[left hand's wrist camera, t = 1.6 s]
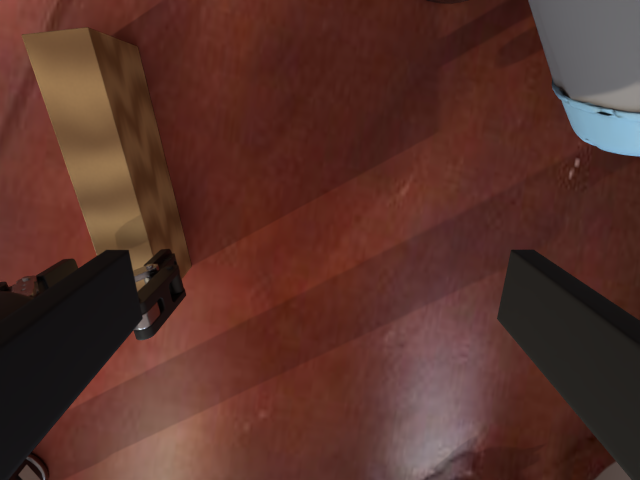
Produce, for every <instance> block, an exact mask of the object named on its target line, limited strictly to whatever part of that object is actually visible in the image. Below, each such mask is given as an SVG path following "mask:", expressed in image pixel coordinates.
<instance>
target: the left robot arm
mask: <svg viewBox="0 0 640 480" xmlns="http://www.w3.org/2000/svg"><path fill="white" fill-rule="evenodd" d="M427 1H431V2H436V3H459V2H464V1H468V0H427ZM528 1H529V4H530V7H531V10H532V14H533V17H534V20H535V23H536V27H537V30H538V33H539V36H540V39H541V43H542V46H543V49H544V52H545V55H546V59H547V62H548V65H549V68H550V71H551V75H552V88H553V90H554V92H555V94H556V95H557V96H558V98H559V99H561V100H562V103H563V105H564V108H565V110H566V113H567V115H568V118H569V121H570V123H571V126H572V128H573V130H574V131H575V133H576V134H577V135H578V136H579V137H580V138H581V139H582V140H583V141H585V142H587V143H589V144H592V145H594V146H597V147H598V148H600V149H602V150H604V151H608V152H612V153H617V154H623V155H630V156H640V0H528ZM142 319H143V317H142V312H141V307H140V302H139V297H138V293H137V288H136V283H135V278H134V273H133V268H132V263H131V259H130V254H129V250H105V251H104V252H102V253H101V254H99V255H98V256H96V257H95V258H93V259H92V260H90V261H89V262H87V263H86V264H84V265H83V266H81V267H80V268H78V269H77V270H75V271H74V272H72V273H71V274H69V275H68V276H66V277H65V278H63V279H62V280H60V281H59V282H57V283H56V284H54V285H53V286H51V287H50V288H49V289H47V290H46V291H44V292H43V293H41V294H40V295H38V296H37V297H35V298H34V299H32V300H31V301H29V302H28V303H26V304H25V305H23V306H22V307H20V308H19V309H17V310H16V311H14V312H13V313H11V314H10V315H8V316H7V317H5V318H4V319H2V320H1V321H0V480H8V479H9V478H10V477H11V476H12V475H13V473H14V472H15V471H16V470H17V469H18V467H19V466H20V465H21V464H22V463H23V461H24V460H25V459H26V458H27V457H28V455H29V454H30V453H31V452H32V451H33V449H34V448H35V447H36V446H37V445H38V444H39V442H40V441H41V440H42V439H43V438H44V436H45V435H46V434H47V433H48V432H49V430H50V429H51V428H52V427H53V426H54V424H55V423H56V422H57V421H58V420H59V418H60V417H61V416H62V415H63V414H64V412H65V411H66V410H67V409H68V408H69V406H70V405H71V404H72V403H73V402H74V400H75V399H76V398H77V397H78V396H79V394H80V393H81V392H82V391H83V390H84V389H85V387H86V386H87V385H88V384H89V383H90V381H91V380H92V379H93V378H94V377H95V375H96V374H97V373H98V372H99V371H100V369H101V368H102V367H103V366H104V365H105V363H106V362H107V361H108V360H109V359H110V357H111V356H112V355H113V354H114V353H115V351H116V350H117V349H118V348H119V347H120V345H121V344H122V343H123V342H124V341H125V340H126V338H127V337H128V336H129V335H130V334H131V332H132V331H133V330H134V329H135V328H136V326H137V325H138V324H139V323H140V322H141V320H142ZM497 319H498V320H499V322H500V323H501V324H502V325H503V326H504V328H505V329H506V330H507V331H508V332H509V334H510V335H511V336H512V337H513V338H514V340H515V341H516V342H517V343H518V344H519V345H520V347H521V348H522V349H523V350H524V351H525V353H526V354H527V355H528V356H529V357H530V359H531V360H532V361H533V362H534V363H535V365H536V366H537V367H538V368H539V369H540V371H541V372H542V373H543V374H544V375H545V377H546V378H547V379H548V380H549V381H550V383H551V384H552V385H553V386H554V387H555V389H556V390H557V391H558V392H559V393H560V395H561V396H562V397H563V398H564V399H565V400H566V402H567V403H568V404H569V405H570V406H571V408H572V409H573V410H574V411H575V412H576V414H577V415H578V416H579V417H580V418H581V420H582V421H583V422H584V423H585V424H586V426H587V427H588V428H589V429H590V430H591V432H592V433H593V434H594V435H595V436H596V438H597V439H598V440H599V441H600V442H601V444H602V445H603V446H604V447H605V448H606V449H607V451H608V452H609V453H610V454H611V455H612V457H613V458H614V459H615V460H616V461H617V463H618V464H619V465H620V466H621V467H622V469H623V470H624V471H625V472H626V473H627V475H628V476H629V477H630V478H631V479H632V480H640V321H639V320H638V319H636V318H635V317H633V316H632V315H630V314H629V313H627V312H626V311H624V310H623V309H621V308H620V307H618V306H617V305H615V304H614V303H612V302H611V301H609V300H608V299H606V298H605V297H603V296H602V295H600V294H599V293H597V292H596V291H594V290H593V289H591V288H590V287H589V286H587V285H586V284H584V283H583V282H581V281H580V280H578V279H577V278H575V277H574V276H572V275H571V274H569V273H568V272H566V271H565V270H563V269H562V268H560V267H559V266H557V265H556V264H554V263H553V262H551V261H550V260H548V259H547V258H545V257H544V256H542V255H541V254H539V253H538V252H536V251H535V250H511V254H510V259H509V263H508V268H507V273H506V278H505V283H504V288H503V293H502V297H501V302H500V307H499V312H498V317H497Z"/></svg>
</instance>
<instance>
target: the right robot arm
mask: <svg viewBox="0 0 640 480" xmlns="http://www.w3.org/2000/svg"><path fill="white" fill-rule="evenodd" d="M77 269H78V266H77V264H76V261H75V260H74V259H63V260H61V261H60V262H58V263H56V264H55V265H53V266H51V267H50V268H48V269H46V270H45V271H43V272H41V273H40V274H38V275H36V276H26V277H23V278H22V279H20V280H18V281H17V282H16V284H15V285H13V286H11V287H8V285H7V283H6V282H0V321H1V320H2V319H4V318H5V317H7V316H8V315H10V314H11V313H13V312H14V311H16V310H17V309H19V308H20V307H22V306H23V305H25V304H26V303H28V302H29V301H31V300H32V299H34V298H35V297H37V296H38V295H40V294H41V293H43V292H44V291H46V290H47V289H49V288H50V287H51V286H53V285H54V284H56V283H57V282H59V281H60V280H62V279H63V278H65V277H66V276H68V275H69V274H71V273H72V272H74V271H75V270H77ZM133 273H134V278H135V283H136V282H138V281H140V280H142V279H144V282H145V285H144V286H143V287H142V288H141V289H140V290H139V291H138V292H137V293H138V297H139V302H140V307H141V312H142V317H143V319H142V320H141V322H140V323H139V324H138V325H137V326H136V328H135V329H134V333H135V336H136V339H137V340H145V339H148V338H151V337H152V336H154V335H155V334H156V332H157V331H158V330H159V329H160V327H161V326H162V325H163V324H164V322H165V321H166V320H167V319H168V317H169V316H170V315H171V314H172V312H173V311H174V310H175V309H176V307H177V306H178V305H179V304H180V302H181V301H182V300H183V299H184V297H185V296H186V292H185V289H184V287H183V283H182V280H181V276H180V269H179V266H178V264H177V260H176V257H175V253H172V251H171V250H170V249H161V250H160V251H159V252H157V253H156V254H155V255H154V256H153V257H152V258H151V259H150V260H149V261H148V262H147V263H145V264H144V266H143V267H141V268H138V269H136V270H134V271H133ZM8 480H48V471H47V469H46V467H45V465H44V464H43V462H42V461H41V460H40V459H38V458H37V457H36V456H34V455H33V454H31V453H30V454H29V455H28V457H27V458H26V459H25V460H24V461H23V463H22V464H21V465H20V466H19V467H18V469H17V470H16V471H15V472H14V473H13V475H12V476H11V477H10V478H9V479H8Z"/></svg>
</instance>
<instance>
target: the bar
mask: <svg viewBox="0 0 640 480" xmlns="http://www.w3.org/2000/svg"><path fill="white" fill-rule="evenodd" d="M22 38H23V41H24V44H25V47H26V49H27V52H28V55H29V58H30V61H31V64H32V67H33V70H34V73H35V76H36V79H37V82H38V85H39V87H40V90H41V93H42V96H43V99H44V102H45V105H46V108H47V111H48V114H49V117H50V120H51V123H52V125H53V128H54V131H55V134H56V137H57V140H58V143H59V146H60V149H61V152H62V155H63V158H64V160H65V163H66V166H67V169H68V172H69V175H70V178H71V181H72V184H73V187H74V190H75V193H76V196H77V198H78V201H79V204H80V207H81V210H82V213H83V216H84V219H85V222H86V225H87V228H88V231H89V234H90V236H91V239H92V242H93V245H94V248H95V251H96V254H97V256H98V255H99V254H101V253H102V252H104V251H105V250H129V254H130V259H131V263H132V268H133V271H134V270H136V269H138V268H141V267H143V266H144V264H145V263H147V262H148V261H149V260H150V259H151V258H152V257H153V256H154V255H155V254H156V253H157V252H159V251H160V250H161V249H170V250H171V251H172V253H175V257H176V260H177V264H178V266H179V269H180V276H181V280H182V278H183V277H184V276H185V274H186V273H187V272H188V271H189V269H190V268H191V267H192V265H191V261H190V257H189V253H188V249H187V245H186V241H185V237H184V233H183V228H182V224H181V220H180V216H179V212H178V208H177V204H176V200H175V196H174V192H173V188H172V184H171V180H170V176H169V172H168V168H167V164H166V159H165V155H164V151H163V147H162V143H161V139H160V135H159V131H158V127H157V123H156V119H155V115H154V111H153V107H152V103H151V99H150V95H149V91H148V86H147V82H146V78H145V74H144V70H143V66H142V62H141V58H140V54H139V50H138V47H137V46H135V45H132V44H130V43H127V42H124V41H122V40H119V39H117V38H114V37H112V36H109V35H106V34H104V33H101V32H99V31H96V30H93V29H91V28H88V27H86V28H77V29H68V30H59V31H50V32H41V33H32V34H23V35H22ZM144 285H145V282H144V279H142V280H140V281H138V282H136V288H137V292H138V291H139V290H140V289H141V288H142V287H143V286H144Z"/></svg>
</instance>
